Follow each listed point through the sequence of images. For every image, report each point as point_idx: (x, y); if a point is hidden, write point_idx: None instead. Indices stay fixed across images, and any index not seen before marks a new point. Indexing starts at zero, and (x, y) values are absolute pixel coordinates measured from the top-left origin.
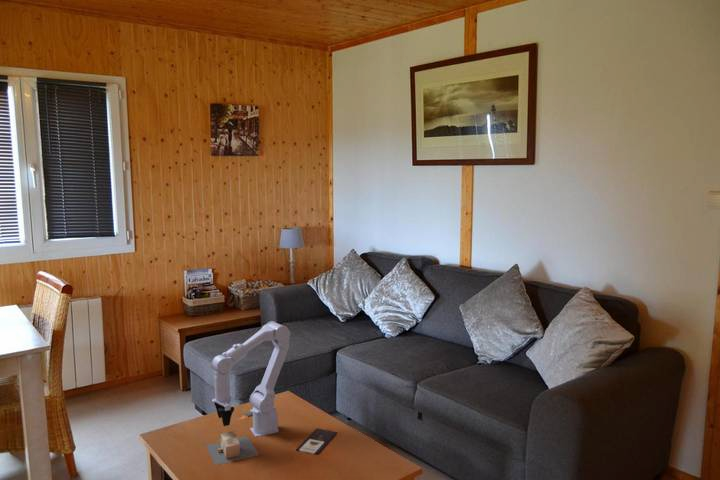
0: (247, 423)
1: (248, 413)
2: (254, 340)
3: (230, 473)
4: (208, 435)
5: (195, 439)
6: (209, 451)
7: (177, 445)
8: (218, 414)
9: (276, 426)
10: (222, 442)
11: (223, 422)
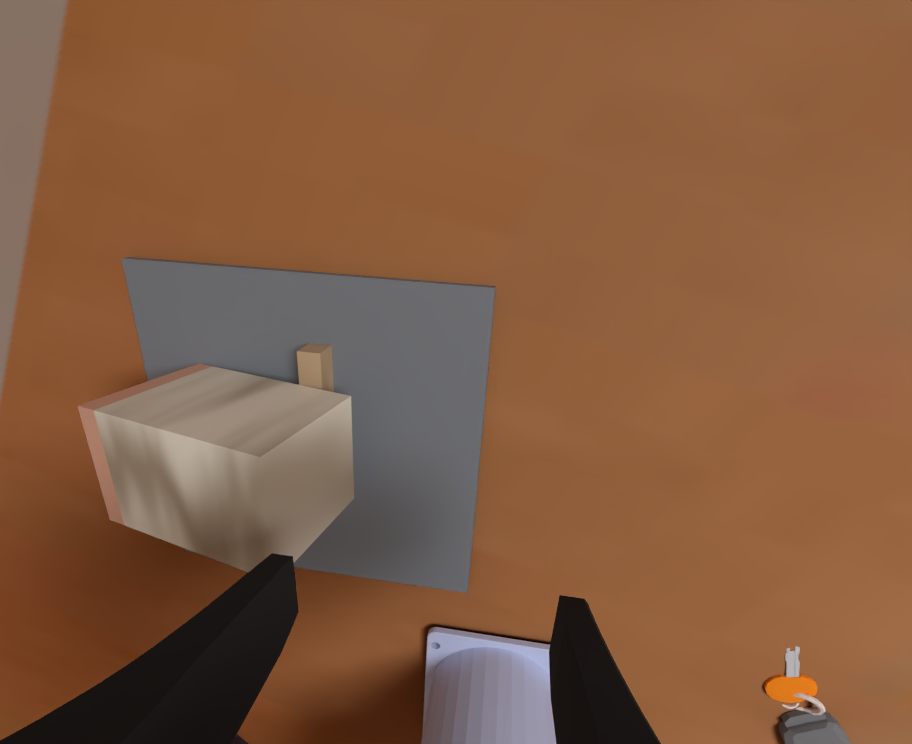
0: (678, 669)
1: (817, 740)
2: None
3: (13, 321)
4: (699, 377)
5: (709, 242)
6: (369, 286)
7: (714, 3)
8: (571, 648)
9: None
10: (245, 412)
11: (224, 596)
